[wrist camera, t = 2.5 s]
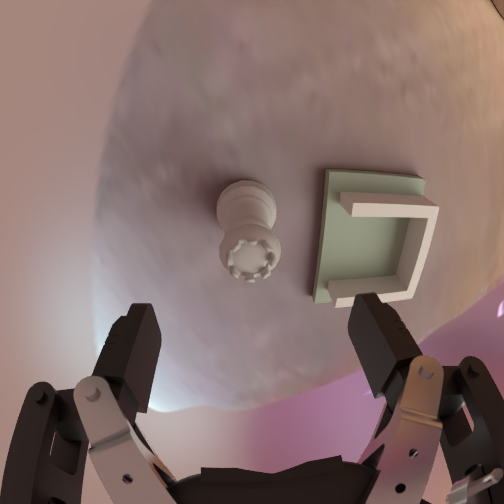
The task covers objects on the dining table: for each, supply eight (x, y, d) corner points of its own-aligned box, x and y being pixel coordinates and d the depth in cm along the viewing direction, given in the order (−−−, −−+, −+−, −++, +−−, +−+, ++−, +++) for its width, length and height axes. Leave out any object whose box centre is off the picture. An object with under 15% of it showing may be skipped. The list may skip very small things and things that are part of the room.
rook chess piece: (282, 186, 20) (307, 231, 13) (266, 238, 22) (280, 302, 15) (223, 172, 19) (214, 211, 12) (211, 227, 21) (200, 289, 14)
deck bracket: (325, 168, 19) (341, 180, 16) (419, 176, 20) (442, 188, 16) (312, 296, 25) (321, 321, 22) (392, 289, 25) (407, 310, 22)
